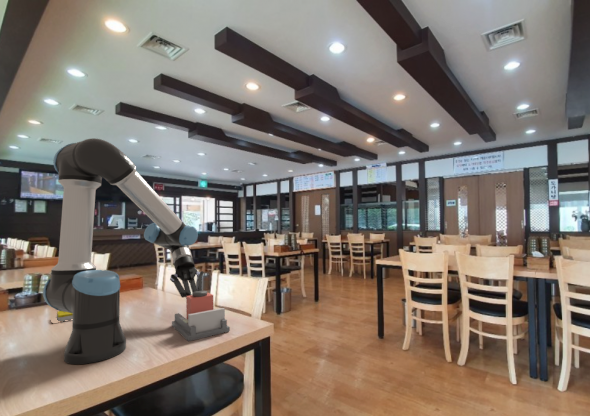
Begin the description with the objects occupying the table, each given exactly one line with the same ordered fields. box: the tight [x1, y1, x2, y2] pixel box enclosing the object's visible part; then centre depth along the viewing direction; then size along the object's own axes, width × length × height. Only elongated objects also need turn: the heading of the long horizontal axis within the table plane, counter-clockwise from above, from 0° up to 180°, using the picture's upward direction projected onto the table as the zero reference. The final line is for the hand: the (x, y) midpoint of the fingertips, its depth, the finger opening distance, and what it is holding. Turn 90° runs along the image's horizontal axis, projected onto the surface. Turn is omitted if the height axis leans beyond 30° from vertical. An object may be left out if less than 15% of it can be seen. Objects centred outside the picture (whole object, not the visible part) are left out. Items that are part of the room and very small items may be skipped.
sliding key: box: [185, 290, 214, 319], centre depth 110 cm, size 8×5×11 cm, turn 126°
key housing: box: [171, 307, 231, 342], centre depth 110 cm, size 14×20×8 cm
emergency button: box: [56, 310, 73, 321], centre depth 127 cm, size 9×4×15 cm
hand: (196, 310), depth 113 cm, fingers closed
